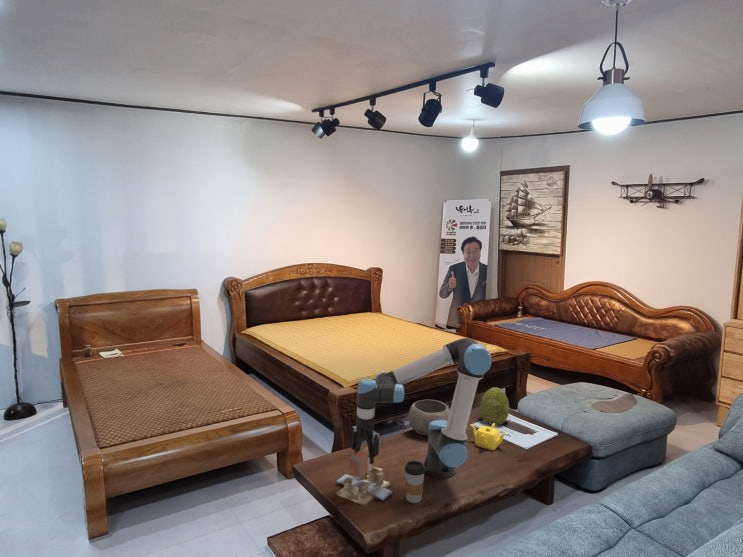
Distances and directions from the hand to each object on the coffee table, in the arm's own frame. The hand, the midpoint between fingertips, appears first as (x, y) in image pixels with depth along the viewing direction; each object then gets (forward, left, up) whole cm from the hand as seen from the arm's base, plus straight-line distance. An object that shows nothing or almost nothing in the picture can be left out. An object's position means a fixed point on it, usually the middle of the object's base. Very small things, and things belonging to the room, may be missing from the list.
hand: (364, 468), depth 220 cm
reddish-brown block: (0, 0, 0) cm, 0 cm away
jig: (0, 0, -10) cm, 10 cm away
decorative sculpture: (-20, -105, -10) cm, 107 cm away
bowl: (+4, -70, -10) cm, 71 cm away
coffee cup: (-21, -6, -10) cm, 24 cm away
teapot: (-28, -73, -10) cm, 79 cm away
